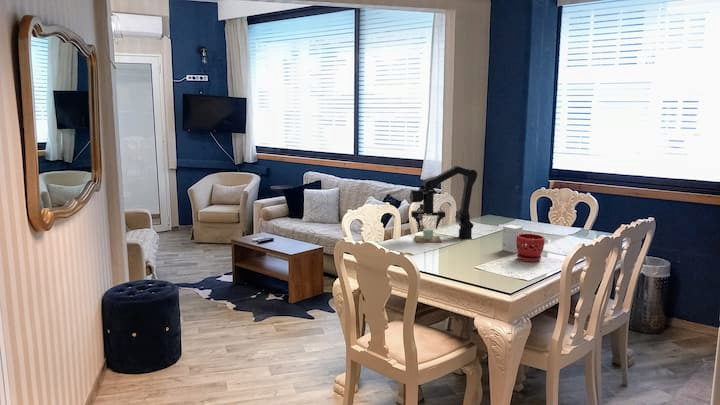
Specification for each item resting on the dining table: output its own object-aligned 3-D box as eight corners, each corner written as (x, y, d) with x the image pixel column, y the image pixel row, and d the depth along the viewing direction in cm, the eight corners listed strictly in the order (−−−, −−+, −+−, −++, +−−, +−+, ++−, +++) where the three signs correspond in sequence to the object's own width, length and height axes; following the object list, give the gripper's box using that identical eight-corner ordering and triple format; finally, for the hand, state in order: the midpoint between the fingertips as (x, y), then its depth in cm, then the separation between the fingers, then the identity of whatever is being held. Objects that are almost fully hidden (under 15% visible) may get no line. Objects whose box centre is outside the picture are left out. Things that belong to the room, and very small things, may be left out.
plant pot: (539, 264, 267) (540, 240, 264) (512, 260, 273) (513, 237, 271) (546, 258, 277) (547, 234, 275) (520, 254, 284) (521, 231, 282)
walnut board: (439, 237, 320) (439, 235, 320) (441, 242, 308) (441, 240, 308) (414, 237, 321) (414, 235, 320) (416, 242, 309) (416, 240, 309)
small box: (522, 251, 290) (523, 226, 288) (514, 253, 286) (515, 228, 284) (509, 248, 296) (510, 224, 294) (501, 250, 292) (502, 226, 290)
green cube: (432, 237, 317) (432, 228, 316) (432, 239, 312) (433, 230, 311) (423, 237, 317) (423, 228, 316) (423, 239, 312) (424, 230, 311)
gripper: (443, 199, 318) (443, 225, 321) (410, 199, 319) (410, 225, 322) (445, 202, 307) (445, 230, 310) (411, 202, 308) (411, 230, 311)
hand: (427, 228), depth 313 cm, fingers open, 9 cm apart
